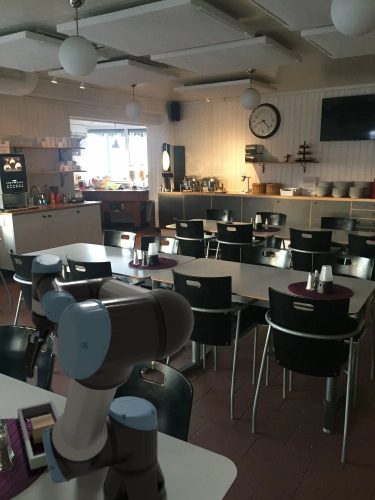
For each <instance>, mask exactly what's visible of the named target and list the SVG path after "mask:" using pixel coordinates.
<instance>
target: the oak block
mask: <svg viewBox="0 0 375 500" xmlns="http://www.w3.org/2000/svg"><path fill="white" fill-rule="evenodd" d="M30 421H31V422H30V423H31V430H30V432H31V433H32V434H31V437H33V438H32V441H33V444H34V445H37V444H36V443H38V444H41V443H43V439H42V431H43V430H44V429H46V428H48V427H50V426H54V425H55V421H54V419H53V416H52V413H48V415H43V416H39V417H35V418H31V419H30ZM40 442H41V443H40Z"/></svg>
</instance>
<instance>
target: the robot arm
mask: <svg viewBox="0 0 375 500" xmlns="http://www.w3.org/2000/svg"><path fill="white" fill-rule="evenodd" d="M31 264H32V265H31V270H30V271H31V322H32V324H33V325H34V327H35V330H34V333H33V334H31V333H29V334H28V337H27V344H26V347H25V351H24V355H23V359H22V362H21V366H20V370H22V371H25V372H26V375H25V376H26V384H28V385H31V386H34V387H37V385H38V365H37V364H38V360H39V357H40V355H41V352H42V350H43V347H44V346H45V345H46V344H47V341H48V339H49V337H50V336H51V335H52V334H54V335H53V336H52V355H56V356H57V358H58V361H59V365H60V368H61V370H62V372H63V374H64V376H66V377H67V378H70V381H69V385H68V390H67V391H68V392H67V396H66V399H65V400H66V401H65V406H64V410H63V413H62V414H61V415H59V418H58V419H57V421H56V422H55V421H54V423H55V425H54V426H50V427H48V428H46V429H44V430H43V431H42V439H43V442H42V444H43V448H44V453H45V454H46V459H47V464H48V465H47V469H48V473H49V476H50V477H49V478H50V480H51V482H52V483H53V484H61V483H66V482H70V481H71V480H73V479H74V480H75V479H76V478H79V477H82V476H86V475H88V474H91V473H93V472H96V471H99V470H103V469H105V468H107V472H106V475H105V478H104V481H103V486H102V489H103V490H102V491H103V500H163V498H164V495H165V493H166V480H165V479H166V478H165V476H164V473H163V470H162V468H161V465H160V462H159V458H158V454H159V453H158V450H159V449H158V442H159V441H158V426H159V422H158V414H157V413H158V412H157V409H156V407H155V406H154V404H153V403H152V402H151V401H150V400H149V401H148V400H147V399H145V398H141V397H137V396H129V395H128V396H120V397H117V398H114V397H115V394H116V392H117V389H118V388H119V387H120V386H122V385H123V384H125V383H126V382H127V381H128V379H129V378H130V376H131V374H132V371H133V369H134V367H135V366H139V365H143V364H147V363H152V362H156V361H159V360H163V359H167V358H169V357H171V356H173V355H175V354H176V353H178V352H179V351H180V350H181V349H182V348H183V347H185V345H186V344H187V343H188V341H189V339H190V337H191V335H192V332H193V330H194V325H195V317H194V312H193V311H194V310H193V308H192V307H191V304H190V303H189V301H188V300H187V299H186V297H184V296H183V295H182V294H180V293H179V292H176V291H174V290H170V289H167V288H155V289H148V288H146V287H145V288H144V287H141V286H138V285H135V284H132V283H130V281H129V280H128V278H127V277H126V276H124V275H111V276H107V277H105V276H104V277H98V278H90V279H80V280H73V281H72V280H71V281H66V279H65V278H64V274H63V270H64V267H63V266H64V265H63V259H62V258H61V257H59V256H58V255H55V254H51V253H46V254H44V253H43V254H39V255H37V256H35V257H33V259H32V261H31ZM36 365H37V366H36Z"/></svg>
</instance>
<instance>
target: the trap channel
mask: <svg viewBox="0 0 375 500" xmlns="http://www.w3.org/2000/svg"><path fill="white" fill-rule="evenodd" d="M49 412H50V414H51V415H52V418H53V420H54V423H55V422H56V421H57V419H58V418H59V417H60V415H59V412H58V411H57V408H56V405H55V403H54V401H53V400H50V401H46V402H42V403H37V404H33V405H32V404H31V405H29V406H23V407H20V408H17V418H18V419H19V420H18V423H19V422H20V424H19V427H20V426H21V428H20V431H21V430H22V432H21V435H23V436H22V439H24V440H23V443H25V444H24V447H25V451H26V455H27V460H28V463H29V467H30V470H31V471H32V470H35V469H39V468H41V467H46V466H48V464H47V459H46V454H45V452H44V453H41V454H37V455H34V453H33V448H32V445H31V441H30V438H29V433H28V431H27V430H28V429H27V427H26V426H27V425H26V421H25V420H26V419H29V420H30V419H31V418H35V417H39V416H43V415H48V414H49ZM24 418H25V419H24Z"/></svg>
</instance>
